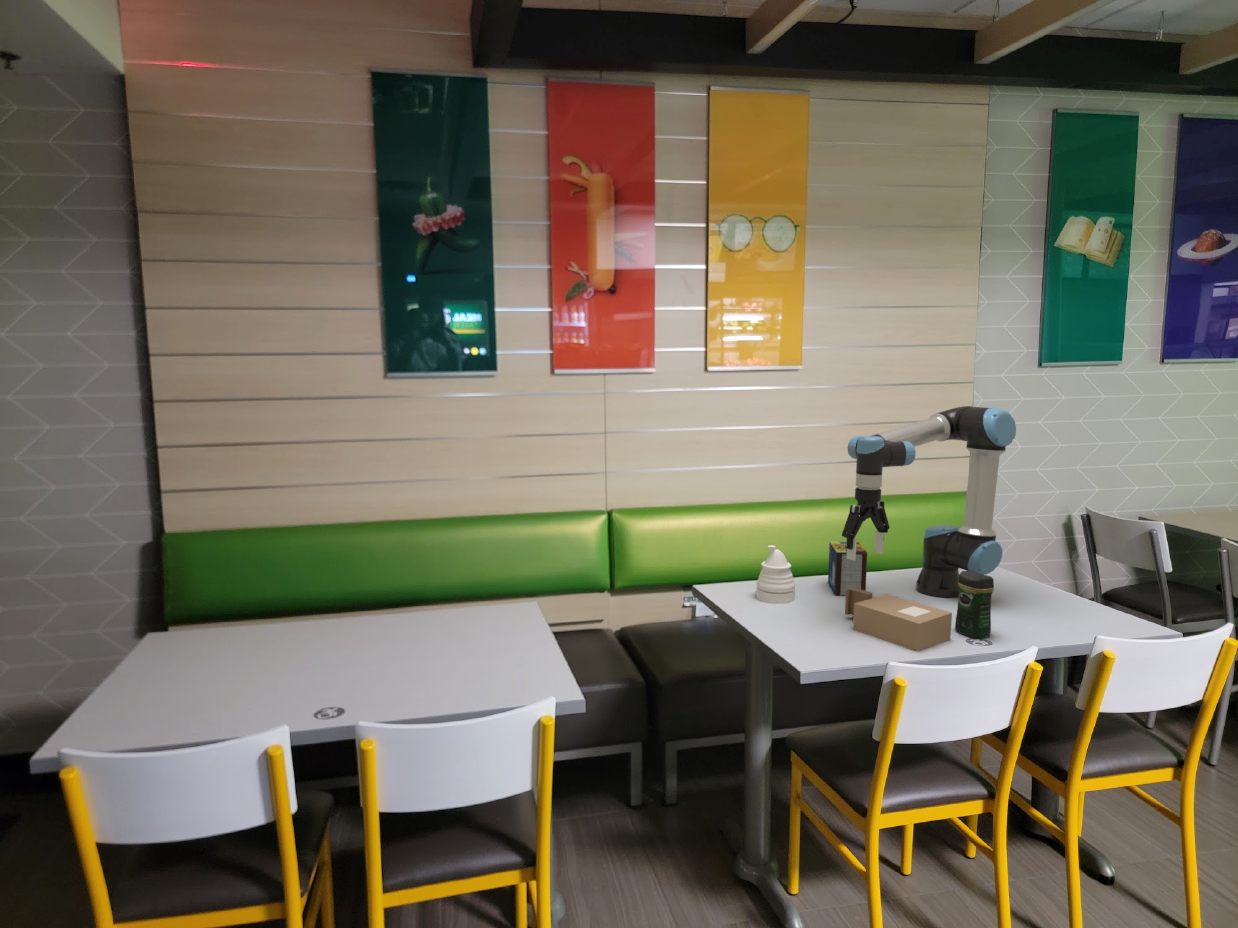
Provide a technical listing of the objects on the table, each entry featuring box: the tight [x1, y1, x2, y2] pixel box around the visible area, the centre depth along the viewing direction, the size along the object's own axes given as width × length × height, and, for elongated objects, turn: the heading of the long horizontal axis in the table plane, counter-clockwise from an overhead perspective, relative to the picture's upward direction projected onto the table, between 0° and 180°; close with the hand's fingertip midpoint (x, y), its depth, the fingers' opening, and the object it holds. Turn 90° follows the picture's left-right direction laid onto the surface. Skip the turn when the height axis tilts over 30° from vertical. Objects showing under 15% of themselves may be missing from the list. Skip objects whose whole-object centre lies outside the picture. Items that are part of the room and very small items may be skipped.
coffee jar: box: [954, 570, 995, 639], centre depth 239 cm, size 10×8×19 cm
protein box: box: [827, 540, 868, 597], centre depth 282 cm, size 10×15×16 cm
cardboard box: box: [852, 593, 953, 652], centre depth 238 cm, size 16×22×8 cm
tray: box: [844, 587, 874, 616], centre depth 242 cm, size 14×28×8 cm, turn 36°
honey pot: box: [755, 544, 796, 605], centre depth 272 cm, size 13×13×18 cm
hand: (864, 556), depth 247 cm, fingers open, 13 cm apart
